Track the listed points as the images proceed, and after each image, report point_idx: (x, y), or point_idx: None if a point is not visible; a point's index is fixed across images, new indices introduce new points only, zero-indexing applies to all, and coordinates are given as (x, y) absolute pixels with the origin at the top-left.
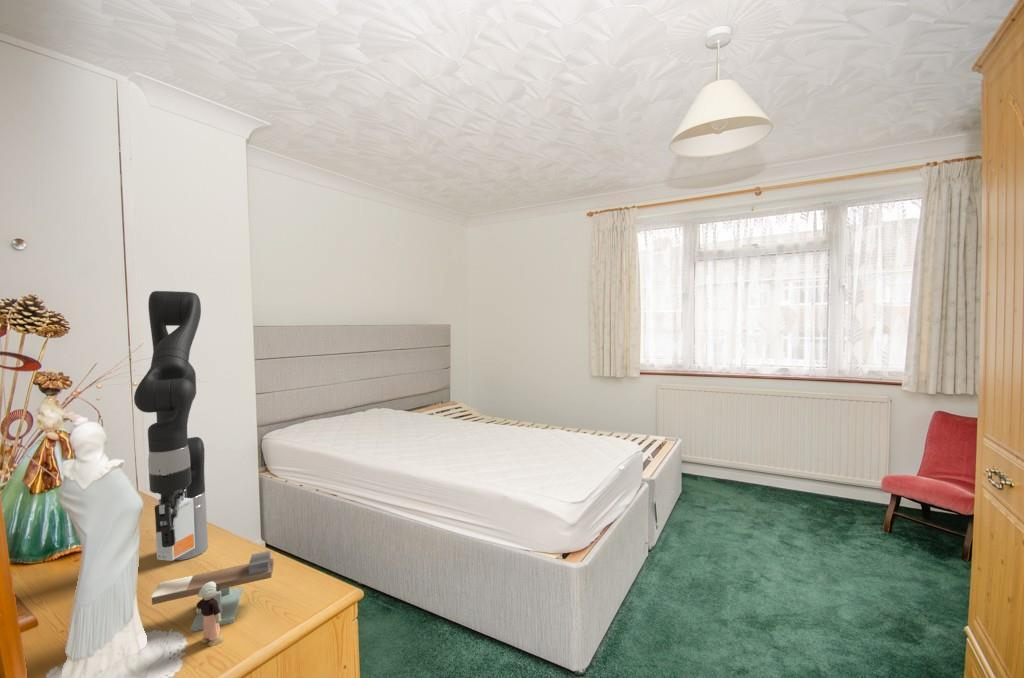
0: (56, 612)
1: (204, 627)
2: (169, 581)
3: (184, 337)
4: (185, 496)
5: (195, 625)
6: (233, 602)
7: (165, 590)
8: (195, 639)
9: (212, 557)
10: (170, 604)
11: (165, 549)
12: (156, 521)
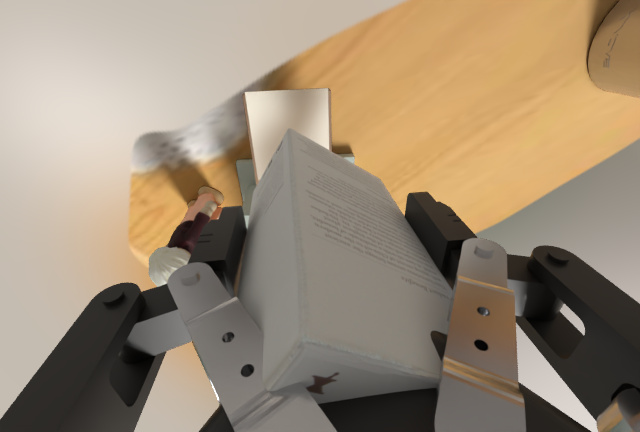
0: None
1: (198, 205)
2: (323, 118)
3: None
4: (569, 385)
5: (241, 170)
6: None
7: (273, 123)
8: (212, 173)
9: (547, 119)
10: (362, 78)
11: (263, 190)
12: (35, 382)
